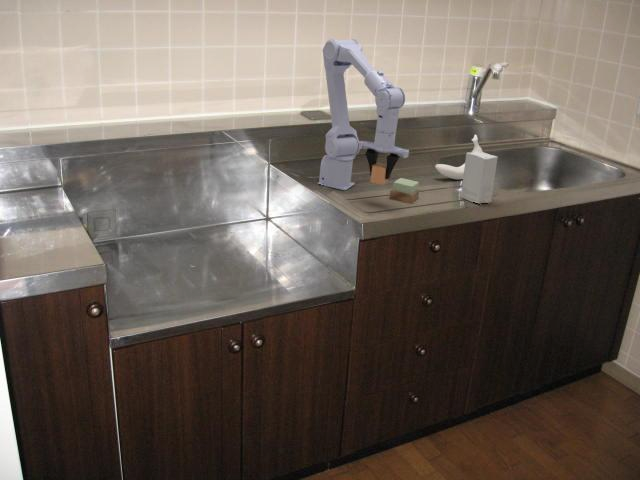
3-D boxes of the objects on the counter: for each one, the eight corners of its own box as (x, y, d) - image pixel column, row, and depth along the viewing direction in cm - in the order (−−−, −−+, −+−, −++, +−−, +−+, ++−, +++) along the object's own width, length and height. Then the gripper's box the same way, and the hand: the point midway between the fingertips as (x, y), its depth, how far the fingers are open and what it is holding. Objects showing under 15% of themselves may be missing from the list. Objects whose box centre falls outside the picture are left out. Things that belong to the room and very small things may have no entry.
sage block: (392, 190, 212) (393, 182, 212) (399, 185, 218) (400, 177, 217) (410, 194, 210) (412, 186, 209) (417, 189, 215) (418, 182, 214)
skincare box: (491, 203, 218) (500, 157, 212) (477, 205, 215) (486, 158, 209) (472, 194, 224) (480, 149, 218) (458, 196, 221) (466, 151, 215)
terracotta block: (370, 182, 204) (372, 165, 202) (375, 178, 207) (377, 162, 205) (383, 184, 202) (385, 168, 200) (387, 181, 206) (390, 165, 204)
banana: (432, 179, 236) (439, 136, 230) (471, 173, 247) (478, 133, 241) (442, 183, 232) (449, 140, 227) (481, 178, 243) (489, 136, 237)
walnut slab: (389, 200, 213) (390, 190, 212) (396, 194, 219) (397, 184, 218) (411, 205, 211) (412, 195, 210) (417, 198, 217) (419, 189, 216)
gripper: (357, 128, 198) (351, 174, 203) (406, 138, 193) (399, 185, 198) (365, 124, 204) (360, 169, 209) (413, 133, 199) (406, 179, 204)
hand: (379, 176), depth 204 cm, fingers closed on terracotta block, 4 cm apart
